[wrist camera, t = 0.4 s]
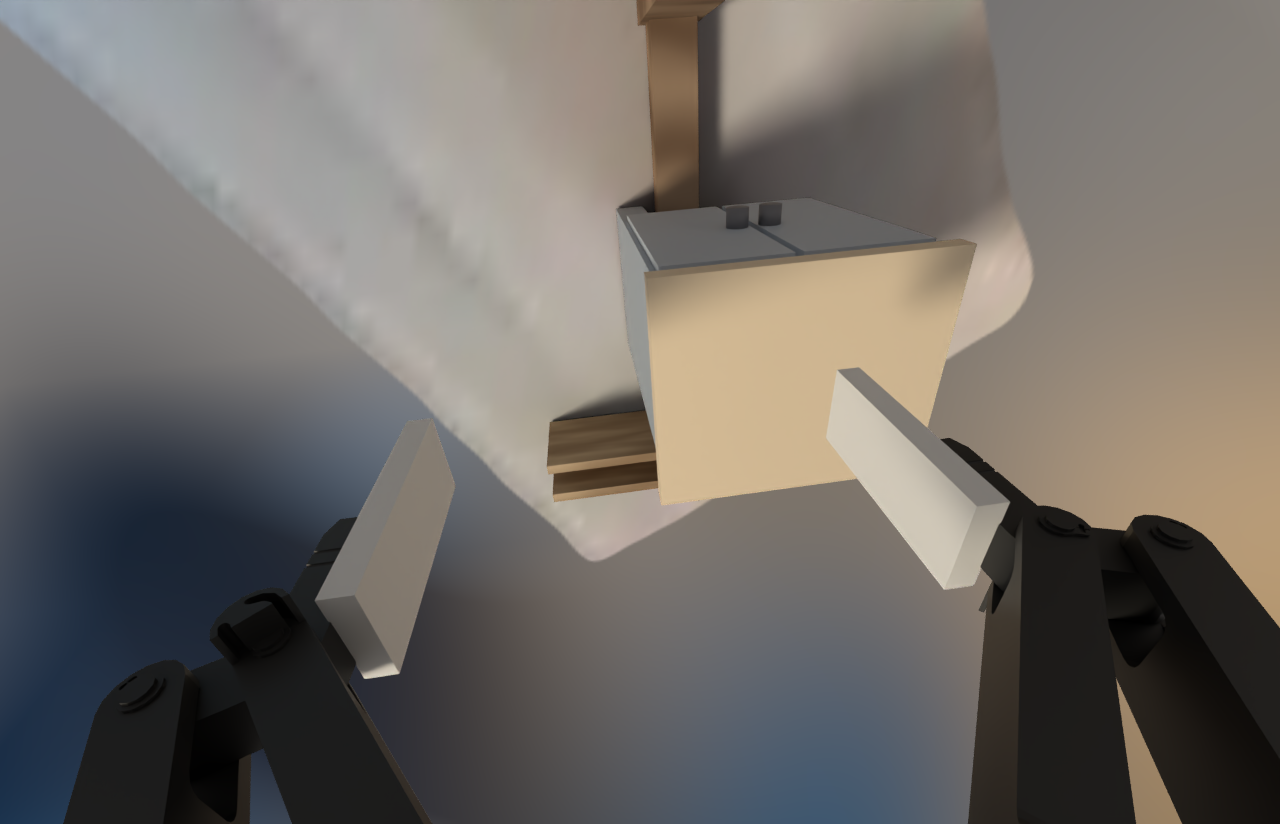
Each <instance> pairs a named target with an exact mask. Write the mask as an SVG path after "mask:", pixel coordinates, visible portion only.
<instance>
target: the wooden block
mask: <svg viewBox="0 0 1280 824" xmlns="http://www.w3.org/2000/svg"><path fill="white" fill-rule="evenodd" d="M723 1H725V0H637V16H638V26H639V25H646V42H647V61H648V81H649V100H650V119H651V139H652V158H653V177H654V197H655V212H664V211H674V210H684V209H695V208H699V138H698V27H697V21H699V20H700V19H702V18H703V17H704V16H706V15H707V14H708V13H709V12H711V11H712V10H713V9H714V8H716V7H717V6H718V5H720V4H721V3H722V2H723Z"/></svg>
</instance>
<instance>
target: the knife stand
mask: <svg viewBox="0 0 1280 824" xmlns="http://www.w3.org/2000/svg"><path fill="white" fill-rule="evenodd" d="M547 469H548V474H554V481H553V498H554V502H558V501H566V500H573V499H580V498H588V497H595V496H603V495H610V494H618V493H625V492H633V491H640V490H647V489H655V488H658V475H657V460H656V447H655V443H654V439H653V436H652V432H651V428H650V424H649V420H648V416H647V413H646V410H644V411H636V412H628V413H620V414H612V415H604V416H596V417H588V418H580V419H572V420H563V421H555V422H550V429H549V444H548V458H547Z"/></svg>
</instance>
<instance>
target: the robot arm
mask: <svg viewBox="0 0 1280 824" xmlns="http://www.w3.org/2000/svg"><path fill="white" fill-rule="evenodd" d="M826 439H827V440H828V441H829V443H830V444H831V445H832V447H833V448H834V449H835V450H836V452H837V453H838V454H839V456H840V457H841V458H842V459H843V461H844V462H845V463H846V465H847V466H848V467H849V468H850V470H851V471H852V472H853V473H854V475H855V476H856V477H857V479H858V480H859V481H860V482H861V484H862V485H863V486H864V487H865V489H866V490H867V491H868V493H869V494H870V495H871V497H872V498H873V499H874V500H875V501H876V503H877V504H878V506H879V507H880V508H881V509H882V511H883V512H884V513H885V514H886V516H887V517H888V518H889V520H890V521H891V522H892V523H893V525H894V526H895V527H896V529H897V530H898V531H899V532H900V534H901V535H902V536H903V538H904V539H905V540H906V541H907V543H908V544H909V545H910V546H911V548H912V549H913V550H914V552H915V553H916V554H917V555H918V557H919V558H920V559H921V561H922V562H923V563H924V564H925V566H926V567H927V568H928V570H929V571H930V572H931V573H932V575H933V576H934V577H935V579H936V580H937V581H938V582H939V584H940V585H941V586H942V587H943V589H944V590H946V589H953V588H960V587H966V586H972V585H974V583H975V581H976V579H977V577H978V574H979V572H980V570H981V568H982V569H983V571H984V572H985V573H986V574H987V575H988V576H989V577H990V578H991V579H992V583H991V585H990V587H989V589H988V591H987V593H986V595H985V598H984V600H983V602H982V604H981V606H980V608H979V611H981V612H984V611H985V609H986V619H985V630H984V642H983V654H982V666H981V677H980V689H979V701H978V712H977V725H976V736H975V748H974V760H973V772H972V783H971V794H970V806H969V819H968V824H1136V820H1135V813H1134V806H1133V798H1132V791H1131V784H1130V777H1129V770H1128V762H1127V755H1126V748H1125V740H1124V734H1123V727H1122V719H1121V712H1120V704H1119V697H1118V690H1117V683H1116V678H1117V681H1118V683H1119V685H1120V687H1121V689H1122V692H1123V694H1124V696H1125V698H1126V700H1127V703H1128V705H1129V707H1130V709H1131V712H1132V713H1133V716H1134V718H1135V720H1136V723H1137V724H1138V727H1139V729H1140V731H1141V733H1142V736H1143V738H1144V740H1145V742H1146V745H1147V747H1148V749H1149V751H1150V754H1151V756H1152V758H1153V760H1154V762H1155V765H1156V767H1157V769H1158V771H1159V773H1160V776H1161V778H1162V780H1163V782H1164V785H1165V787H1166V789H1167V791H1168V793H1169V795H1170V798H1171V800H1172V802H1173V804H1174V807H1175V809H1176V811H1177V813H1178V816H1179V818H1180V820H1181V822H1182V824H1280V628H1279V626H1278V625H1277V624H1276V623H1275V621H1274V620H1273V619H1272V618H1271V616H1270V615H1269V614H1268V613H1267V611H1266V610H1265V609H1264V607H1263V606H1262V605H1261V604H1260V602H1258V600H1257V599H1256V597H1255V596H1254V595H1253V594H1252V592H1251V591H1250V590H1249V589H1248V587H1247V586H1246V585H1245V584H1244V582H1243V581H1242V580H1241V579H1240V577H1239V576H1238V575H1237V574H1236V572H1235V571H1234V570H1233V568H1231V566H1230V565H1229V564H1228V562H1227V561H1226V560H1225V558H1223V556H1222V555H1221V554H1220V552H1219V551H1218V550H1217V548H1216V547H1215V546H1214V545H1213V543H1212V542H1211V541H1209V540H1208V539H1207V538H1206V537H1205V536H1204V535H1203V534H1202V533H1200V532H1198V531H1197V530H1195V529H1193V528H1192V527H1190V526H1188V525H1186V524H1184V523H1182V522H1178V521H1176V520H1173V519H1170V518H1166V517H1161V516H1157V515H1142V516H1138V517H1135V518H1134V519H1133V521H1132V522H1131V524H1130V526H1129V527H1128V529H1127V530H1126V531H1122V530H1112V529H1102V528H1091V527H1090V526H1089V525H1088V524H1087V523H1086V522H1085V521H1084V520H1082V519H1081V518H1079V517H1077V516H1076V515H1074V514H1072V513H1070V512H1067V511H1065V510H1062V509H1059V508H1055V507H1050V506H1037V505H1036V504H1035V503H1033V501H1031V500H1030V499H1029V498H1028V497H1027V496H1025V495H1024V494H1023V493H1022V492H1021V491H1020V490H1018V489H1017V488H1016V487H1015V486H1014V485H1013V484H1011V483H1010V482H1009V481H1008V480H1007V479H1005V478H1004V477H1003V476H1002V475H1001V474H999V473H998V472H995V471H994V468H992V467H991V466H990V465H989V464H988V463H986V462H983V459H982V458H981V457H979V456H978V455H977V454H976V453H975V452H974V451H972V450H971V449H970V448H969V447H967V446H965V445H962V444H961V443H959V442H957V441H955V440H953V439H951V438H945V439H939V438H938V437H937V436H936V435H935V434H934V433H932V432H931V431H930V430H929V429H928V428H927V427H926V426H925V425H923V424H922V423H921V422H920V421H919V420H918V419H917V418H916V417H914V416H913V415H912V414H911V413H910V412H909V411H908V410H907V409H905V408H904V407H903V406H902V405H901V404H900V403H899V402H898V401H897V400H895V399H894V398H893V397H892V396H891V395H890V394H889V393H888V392H886V391H885V390H884V389H883V388H882V387H881V386H880V385H879V384H877V383H876V382H875V381H874V380H873V379H872V378H871V377H870V376H868V375H867V374H866V373H865V372H864V371H863V370H862V369H861V368H859V367H857V368H848V369H840V370H837V372H836V378H835V385H834V391H833V397H832V403H831V409H830V416H829V422H828V428H827V434H826ZM454 489H455V483H454V480H453V477H452V474H451V471H450V468H449V466H448V463H447V460H446V457H445V454H444V451H443V448H442V445H441V442H440V439H439V436H438V434H437V431H436V428H435V425H434V422H433V419H432V418H430V419H423V420H414V421H407V423H406V425H405V427H404V428H403V430H402V432H401V434H400V436H399V438H398V440H397V442H396V444H395V446H394V448H393V450H392V452H391V454H390V456H389V458H388V459H387V461H386V463H385V465H384V467H383V469H382V471H381V473H380V475H379V477H378V479H377V481H376V483H375V485H374V487H373V489H372V490H371V493H370V494H369V496H368V498H367V500H366V502H365V504H364V506H363V508H362V510H361V512H360V514H359V516H358V517H355V518H347V519H340V520H339V521H338V522H337V523H336V524H335V525H334V526H333V527H331V528H330V529H329V530H328V531H327V532H326V533H325V534H324V535H323V537H322V539H321V540H320V542H319V544H318V546H317V547H316V549H315V551H314V554H313V555H312V556H311V558H310V560H309V561H308V563H307V568H304V570H303V572H302V573H301V575H300V577H299V579H298V580H297V582H296V584H295V586H294V587H293V589H292V591H291V593H290V594H288V593H287V592H286V591H284V590H283V589H280V588H267V589H263V590H258V591H255V592H253V593H251V594H249V595H246V596H245V597H242V598H241V599H239V600H238V601H236V602H235V603H233V604H232V605H230V606H229V607H228V608H227V609H226V610H225V611H224V612H223V613H222V614H221V615H220V616H219V617H218V618H217V619H216V621H215V623H214V624H213V626H212V628H211V630H210V641H211V642H212V643H213V644H214V646H215V647H216V648H217V649H218V650H219V651H220V652H221V654H222V655H223V656H224V658H221V659H219V660H216V661H214V662H211V663H209V664H206V665H204V666H201V667H199V668H196V669H194V670H191V671H189V670H188V669H187V667H186V666H185V665H183V664H182V663H180V662H178V661H177V660H164V661H160V662H157V663H154V664H151V665H148V666H146V667H144V668H143V669H141V670H139V671H137V672H135V673H133V674H132V675H130V676H129V677H128V678H126V679H125V680H124V681H122V682H121V683H120V684H119V685H117V686H116V687H115V688H114V689H113V690H112V691H111V692H110V693H109V694H108V695H107V697H106V698H105V699H104V700H103V701H102V703H101V704H100V706H99V708H98V710H97V712H96V714H95V716H94V720H93V723H92V727H91V730H90V734H89V737H88V741H87V744H86V747H85V751H84V754H83V758H82V761H81V765H80V768H79V771H78V775H77V779H76V782H75V785H74V789H73V792H72V796H71V799H70V802H69V806H68V810H67V813H66V816H65V820H64V823H63V824H249V823H250V822H249V821H250V781H251V778H250V777H251V754H252V753H254V752H256V751H258V750H261V749H263V748H264V751H265V753H266V756H267V759H268V761H269V764H270V767H271V769H272V772H273V774H274V777H275V780H276V782H277V785H278V788H279V790H280V793H281V795H282V798H283V801H284V804H285V806H286V809H287V811H288V814H289V817H290V819H291V822H292V824H432V822H431V820H430V819H429V817H428V815H427V814H426V812H425V810H424V809H423V807H422V805H421V803H420V802H419V800H418V798H417V797H416V795H415V794H414V792H413V790H412V788H411V786H410V785H409V783H408V781H407V780H406V778H405V776H404V775H403V773H402V771H401V769H400V768H399V766H398V764H397V763H396V761H395V759H394V758H393V756H392V754H391V752H390V751H389V749H388V747H387V746H386V744H385V742H384V740H383V739H382V737H381V735H380V734H379V732H378V730H377V729H376V727H375V725H374V724H373V722H372V720H371V718H370V717H369V715H368V713H367V712H366V710H365V708H364V706H363V705H362V703H361V701H360V700H359V698H358V697H357V695H356V693H355V691H354V689H353V688H352V686H351V685H350V683H349V680H350V678H351V675H352V672H353V670H354V667H355V665H356V666H357V667H358V669H359V671H360V672H361V674H362V675H363V677H364V678H365V679H367V678H374V677H381V676H387V675H394V674H399V673H400V669H401V667H402V663H403V660H404V656H405V653H406V650H407V647H408V643H409V640H410V636H411V633H412V630H413V626H414V623H415V620H416V616H417V613H418V610H419V606H420V603H421V600H422V596H423V593H424V590H425V586H426V583H427V579H428V576H429V573H430V569H431V566H432V563H433V560H434V556H435V553H436V549H437V546H438V543H439V539H440V536H441V533H442V529H443V526H444V523H445V520H446V516H447V513H448V509H449V506H450V503H451V499H452V496H453V493H454Z"/></svg>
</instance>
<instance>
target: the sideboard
mask: <svg viewBox="0 0 1280 824" xmlns="http://www.w3.org/2000/svg"><path fill="white" fill-rule="evenodd" d="M616 213H617V224H618V235H619V246H620V257H621V269H622V280H623V291H624V302H625V313H626V325H627V336H628V344H629V348H630V352H631V355H632V359H633V363H634V367H635V371H636V374H637V378H638V382H639V386H640V390H641V394H642V397H643V401H644V405H645V409H646V413H647V416H648V420H649V424H650V428H651V432H652V436H653V439H654V443H655V447H656V460H657V475H658V490H659V496H660V500H661V505H668V504H675V503H683V502H690V501H697V500H704V499H712V498H719V497H726V496H734V495H740V494H748V493H756V492H763V491H770V490H778V489H785V488H792V487H799V486H807V485H814V484H821V483H829V482H835V481H843V480H851V479H857V477H856V476H855V475H854V473H853V472H852V471H851V470H850V468H849V467H848V466H847V465H846V463H845V462H844V461H843V459H842V458H841V457H840V456H839V454H838V453H837V452H836V450H835V449H834V448H833V447H832V445H831V444H830V443H829V441H828V440H827V439H826V434H827V428H828V422H829V416H830V409H831V403H832V397H833V391H834V385H835V378H836V372H837V370H840V369H848V368H857V367H859V368H861V369H862V370H863V371H864V372H865V373H866V374H867V375H868V376H870V377H871V378H872V379H873V380H874V381H875V382H876V383H877V384H879V385H880V386H881V387H882V388H883V389H884V390H885V391H886V392H888V393H889V394H890V395H891V396H892V397H893V398H894V399H895V400H897V401H898V402H899V403H900V404H901V405H902V406H903V407H904V408H905V409H907V410H908V411H909V412H910V413H911V414H912V415H913V416H914V417H916V418H917V419H918V420H919V421H920V422H921V423H922V424H923V425H925V426H926V427H928V423H929V420H930V416H931V412H932V408H933V405H934V401H935V397H936V394H937V390H938V386H939V382H940V379H941V375H942V371H943V368H944V364H945V360H946V356H947V353H948V349H949V345H950V342H951V338H952V334H953V331H954V327H955V323H956V319H957V316H958V312H959V308H960V305H961V301H962V297H963V293H964V290H965V286H966V282H967V279H968V275H969V271H970V267H971V264H972V260H973V256H974V253H975V249H976V245H977V244H976V243H972V242H969V241H966V240H962V239H956V240H946V241H937V242H935V241H936V238H935V237H932V236H929V235H926V234H923V233H919V232H916V231H913V230H910V229H907V228H904V227H901V226H897V225H894V224H891V223H888V222H885V221H882V220H878V219H875V218H872V217H869V216H866V215H863V214H859V213H856V212H853V211H850V210H847V209H844V208H840V207H837V206H834V205H831V204H828V203H825V202H821V201H818V200H815V199H812V198H799V199H788V200H778V201H768V202H757V203H747V204H736V205H726V206H722V210H721V209H720V208H718V207H705V208H695V209H684V210H674V211H664V212H653V213H647V211H646V210H645V209H644V208H643V207H642V206H639V207H629V208H618V209H616Z"/></svg>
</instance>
